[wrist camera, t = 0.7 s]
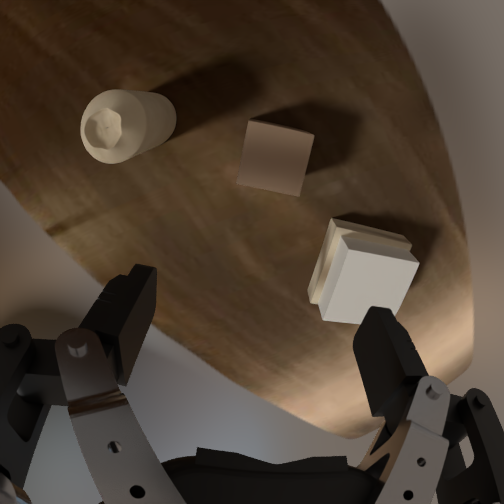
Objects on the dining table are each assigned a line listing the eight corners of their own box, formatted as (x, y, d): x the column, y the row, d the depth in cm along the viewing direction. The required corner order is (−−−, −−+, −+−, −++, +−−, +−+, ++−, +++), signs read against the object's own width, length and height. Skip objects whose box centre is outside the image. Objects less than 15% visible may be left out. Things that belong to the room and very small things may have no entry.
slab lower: (329, 216, 31) (336, 227, 28) (401, 233, 32) (412, 244, 29) (306, 287, 35) (310, 303, 32) (373, 298, 36) (381, 312, 33)
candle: (167, 83, 25) (124, 74, 16) (185, 135, 27) (150, 149, 18) (117, 106, 25) (61, 111, 16) (135, 155, 28) (85, 179, 19)
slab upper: (340, 235, 29) (348, 249, 26) (407, 249, 29) (419, 263, 26) (317, 302, 32) (322, 320, 29) (381, 310, 33) (389, 326, 30)
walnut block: (250, 118, 26) (248, 120, 21) (303, 129, 27) (314, 135, 21) (240, 168, 28) (236, 183, 23) (291, 179, 29) (299, 196, 23)
